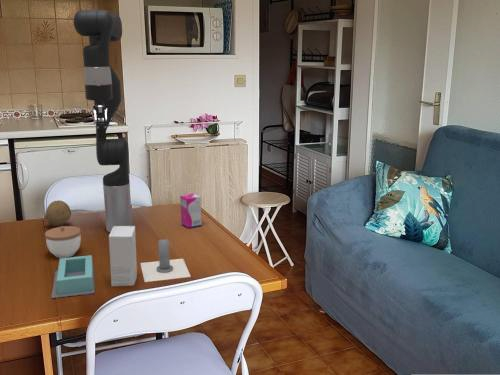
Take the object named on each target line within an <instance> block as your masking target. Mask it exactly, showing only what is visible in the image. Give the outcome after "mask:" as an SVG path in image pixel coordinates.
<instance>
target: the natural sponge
mask: <svg viewBox="0 0 500 375" xmlns="http://www.w3.org/2000/svg"><path fill="white" fill-rule="evenodd" d="M71 216H72V210H71V208H70V205H69V204H67V203H66V201H63V200H59V199H58V200H54V201H52V202H51V203H50V204H48V206H47V208H46V210H45V213H44V220H45V222H46V223H48V224H50V225H52V226H55V227H56V228H57V227H61V226H64V225H65V223H67V222H68V221H69V220H70V218H71Z"/></svg>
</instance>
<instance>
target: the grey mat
mask: <svg viewBox="0 0 500 375" xmlns="http://www.w3.org/2000/svg"><path fill="white" fill-rule="evenodd" d="M54 271H55V272H54V278H53V285H52V292H51V299H50V300H53V299H52V298H56V299H62V298H61V297H64V298H69V297H68V296H73V297H79V296H78V295H81V296H89V295H95V290H96V289H95V287H96V286H95V266H93V291H84V292H76V293H68V294H59V295H58V290H57V275H58V270H54ZM80 275H85V271H80V272H70V273H67V277H71V276H80ZM59 297H60V298H59Z"/></svg>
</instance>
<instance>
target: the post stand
mask: <svg viewBox="0 0 500 375" xmlns="http://www.w3.org/2000/svg"><path fill="white" fill-rule="evenodd" d="M157 242H158V260H157V261H149V262H148V261H147V262H140V268H141V272H142V275H143V281H144V283H150V282H156V281H157V282H159V281H167V280H175V279H182V278H185V279H186V278H191V274H190V272H189V268H188V267H187V265H186V262H185V259H184V258H175V259H170V241H169V239H166V238H163V239H162V238H161V239H159V240H158V241H157Z"/></svg>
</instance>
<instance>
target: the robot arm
mask: <svg viewBox="0 0 500 375" xmlns="http://www.w3.org/2000/svg"><path fill="white" fill-rule="evenodd" d="M73 27H74V29H75V32H76V33H77V34H78V35H80V36H81V37H88V41H89V45H85V46H84V47H83V49H82V50H83V51H82V55H83V56H82V57H83V66H84V67H83V68H84V69H83V79H84V80H83V81H84V82H83V83H84V94H85V99H86V100H88V101H93V105H92V112H93V114H94V121H95V149H96V160H97V163H98V164H99V165H100V166H119V167H118V168H117V169H116V170H114V171H112V172H109V173H106V174H105V175H103V176H102V177H103V178H102V186H103V187H102V188H103V200H104V215H105V226H106V227H105V229H106V232H108V233H111V230H112V228H113V226H133V219H132V218H133V216H132V213H133V212H132V200H131V198H132V197H131V183H130V171H129V170H130V169H129V164H130V162H129V161H130V160H129V143H128V141H127V139H125V138H107V130H108V128H109V125H110V123H111V121H112V119H113V117H114V116H115V114H116V112H117V111H118V109H119V107H120V105H121V103H122V102H121V101H122V90H121V87H122V86H121V81H120V78H119V77H118V75H117V73H116V72H115V71H114V69H113V67H112V66H111V65H110V44H111V43H113V42H115V43H116V42H118V41H120V40H121V39H122V36H123V24H122V19H121V17H120V16H119V15H118V14H117V13H111V12H110V11H108V10H105V9H81V10H78V11H76V13H75V14H74V16H73Z"/></svg>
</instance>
